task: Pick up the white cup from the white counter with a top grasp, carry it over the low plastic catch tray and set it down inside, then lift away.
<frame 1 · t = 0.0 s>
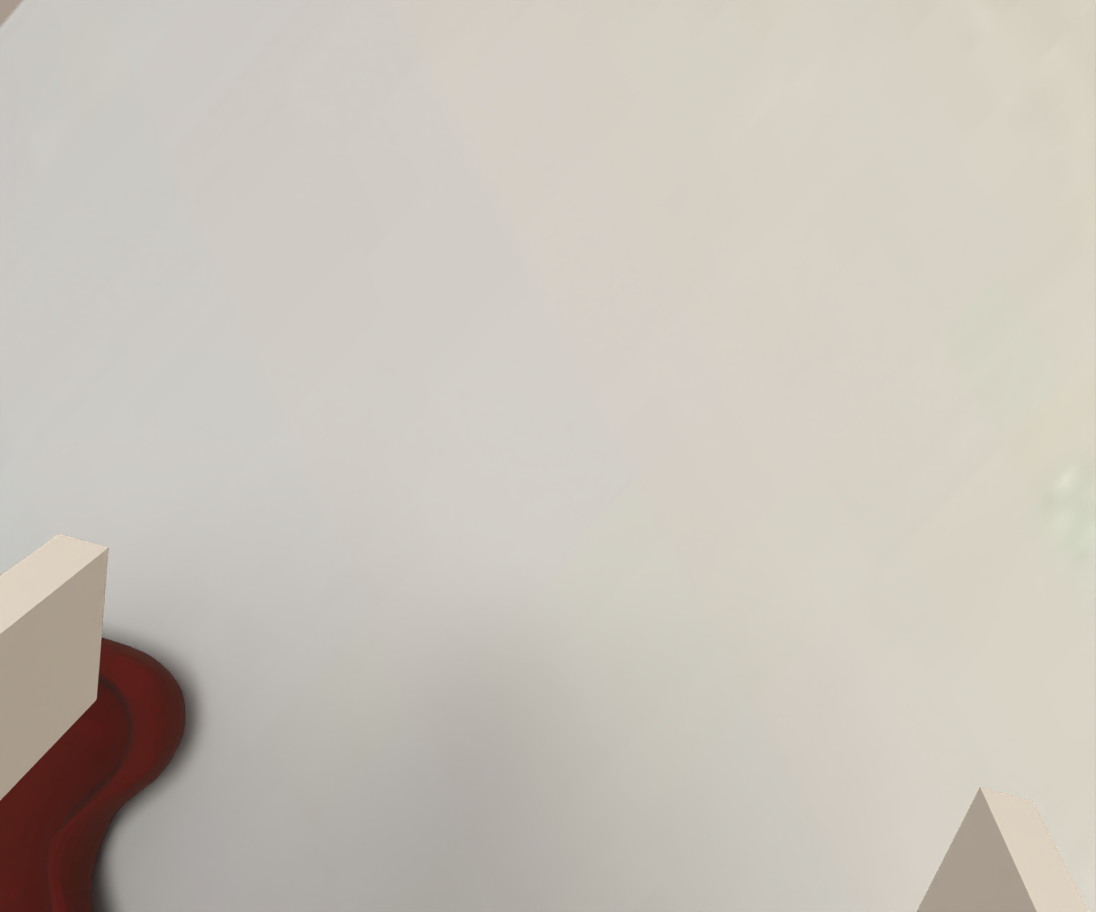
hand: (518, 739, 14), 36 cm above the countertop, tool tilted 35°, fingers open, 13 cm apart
ashtray: (3, 802, 47), on the countertop
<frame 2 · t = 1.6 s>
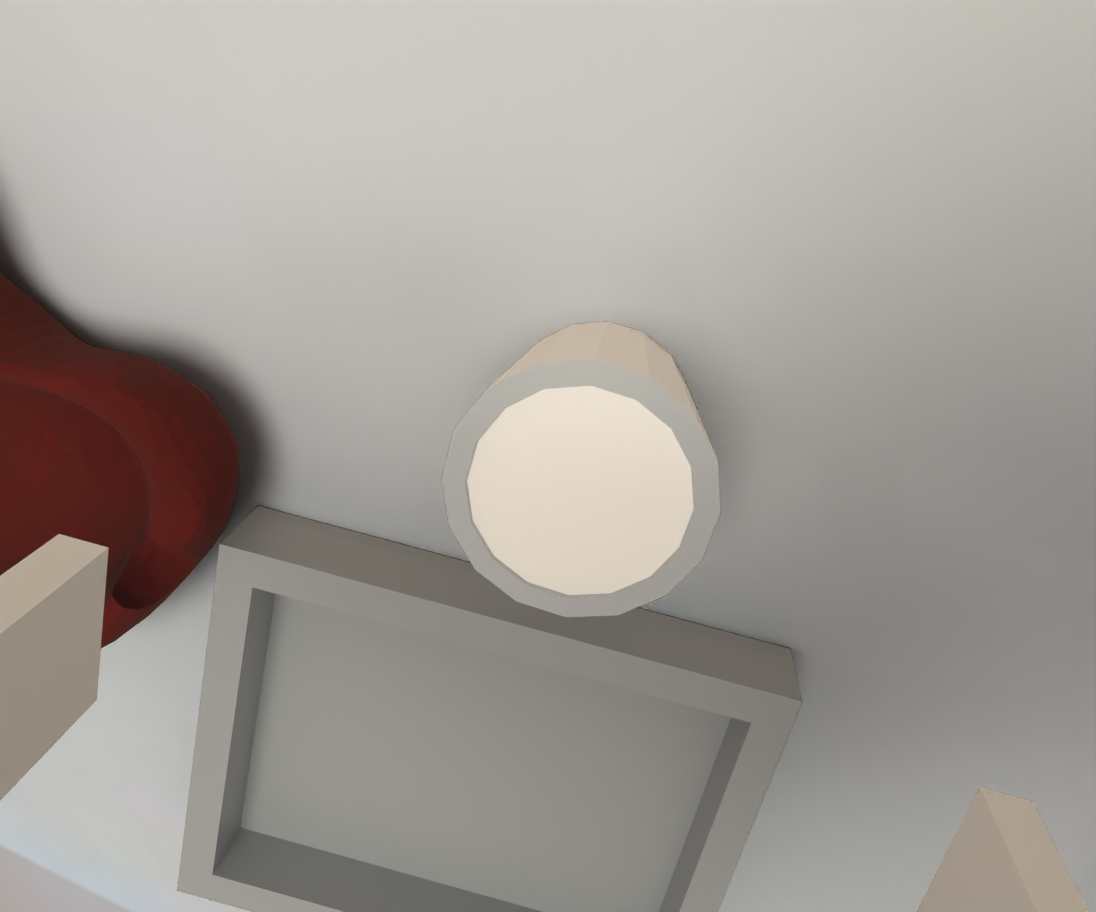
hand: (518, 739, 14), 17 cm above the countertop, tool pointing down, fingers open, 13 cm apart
catch tray: (478, 747, 35), on the countertop
white cup: (598, 408, 30), on the countertop
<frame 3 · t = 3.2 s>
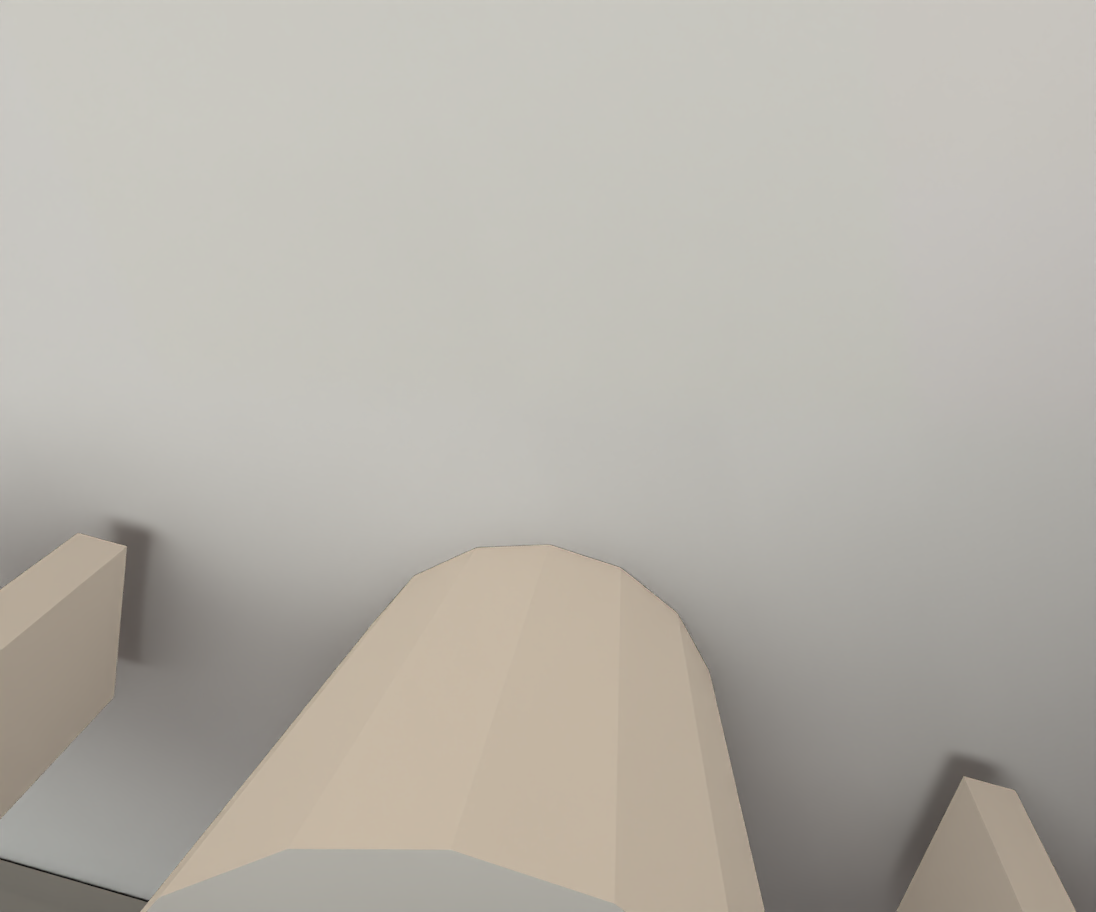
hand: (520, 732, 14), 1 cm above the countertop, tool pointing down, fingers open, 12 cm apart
white cup: (534, 698, 15), on the countertop
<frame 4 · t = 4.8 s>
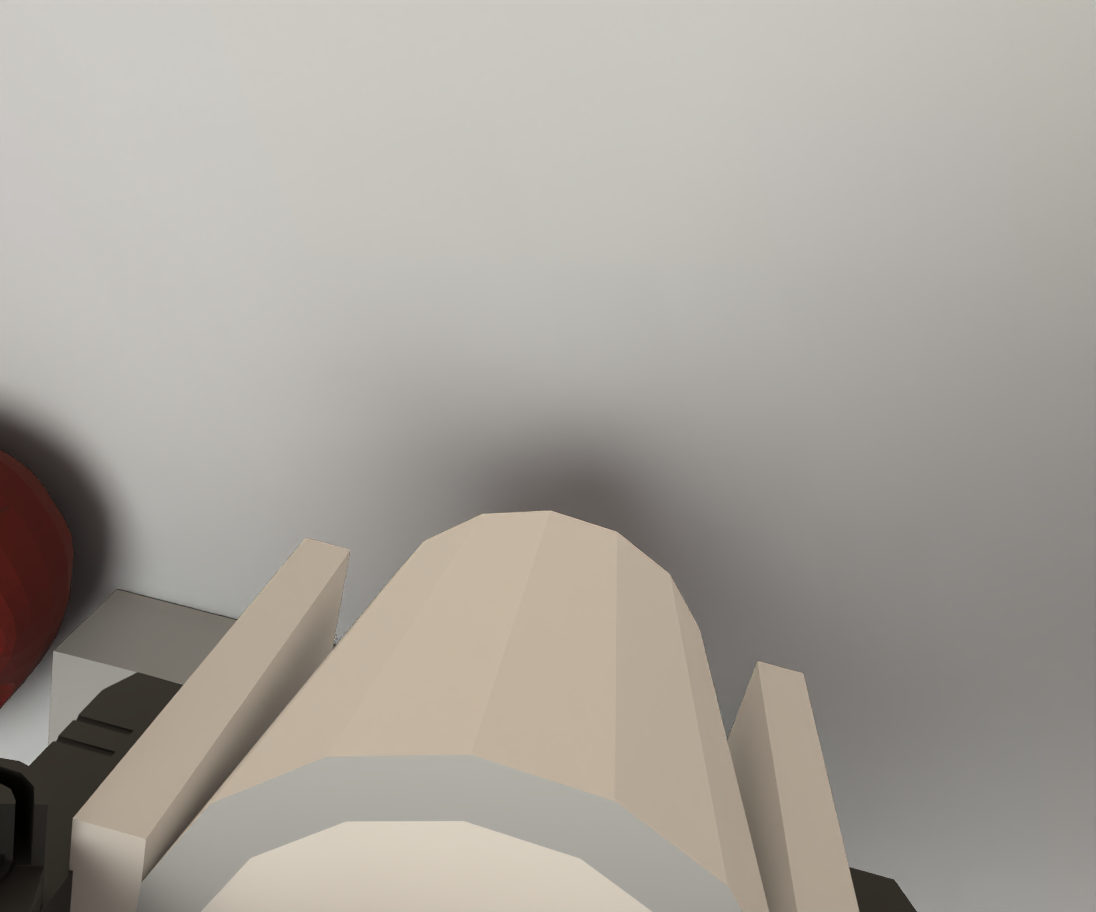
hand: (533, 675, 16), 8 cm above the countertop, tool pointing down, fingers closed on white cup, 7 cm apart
catch tray: (403, 875, 28), on the countertop
white cup: (536, 656, 16), point 8 cm above the countertop, touching gripper
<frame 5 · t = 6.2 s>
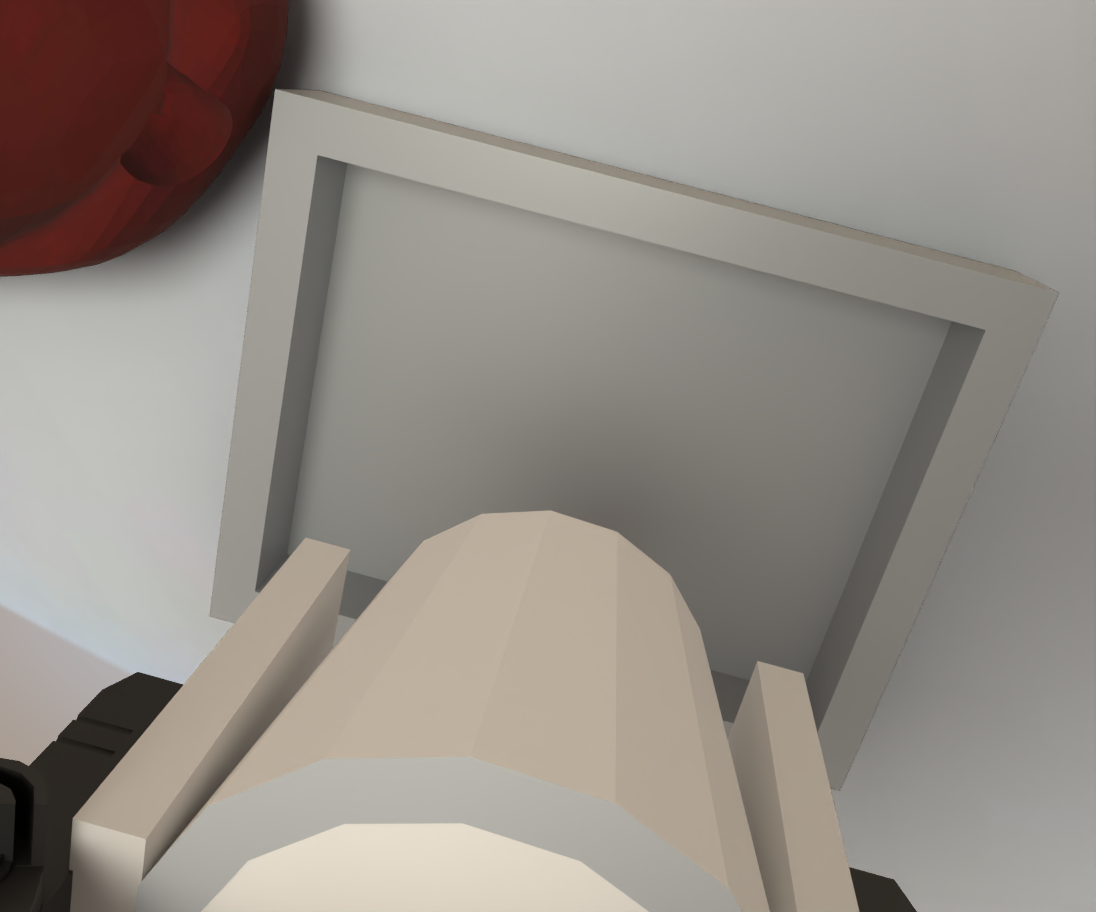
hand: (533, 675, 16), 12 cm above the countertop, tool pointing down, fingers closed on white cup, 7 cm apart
catch tray: (593, 435, 27), on the countertop
white cup: (536, 657, 16), point 12 cm above the countertop, touching gripper
when the fingers open (1 cm above the countertop, at t = 8.1 s): white cup stays where it is, resting on catch tray.
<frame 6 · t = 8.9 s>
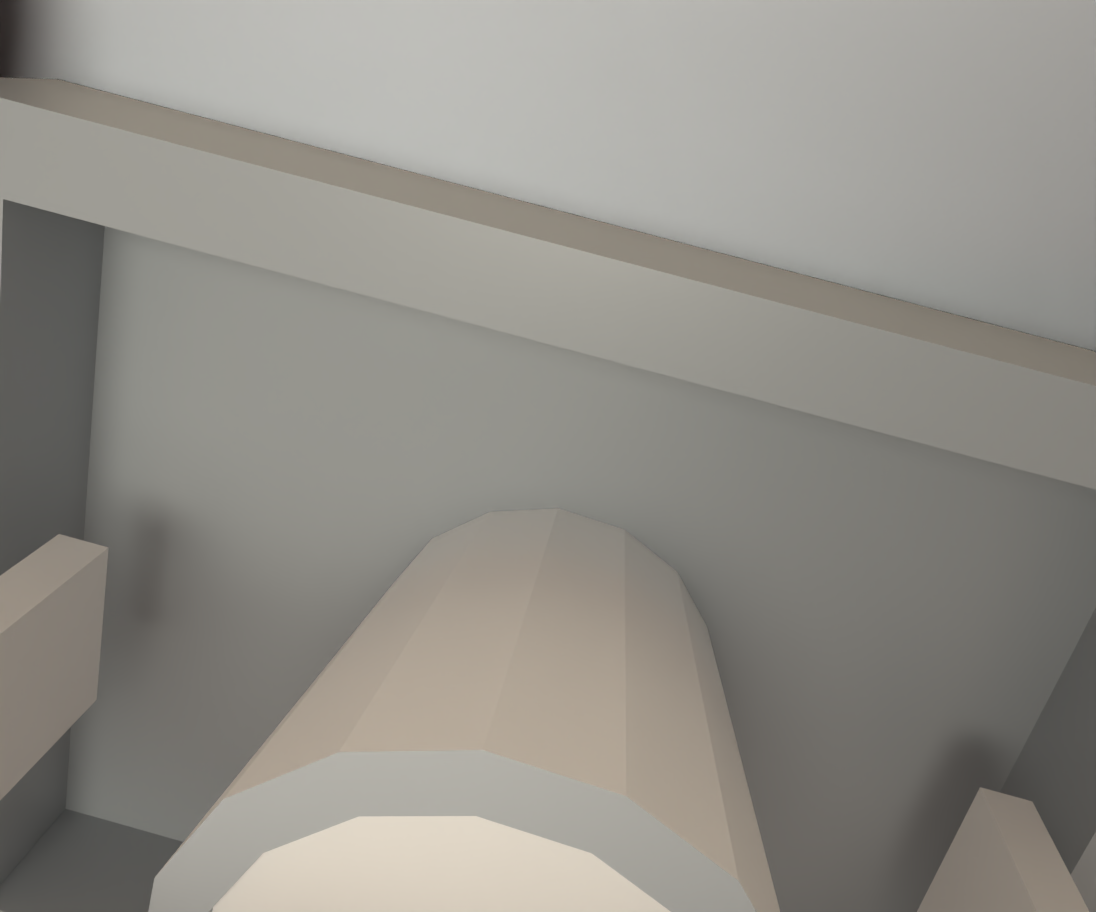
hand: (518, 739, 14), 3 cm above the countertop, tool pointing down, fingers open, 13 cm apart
catch tray: (541, 643, 17), on the countertop
white cup: (543, 654, 16), resting on catch tray
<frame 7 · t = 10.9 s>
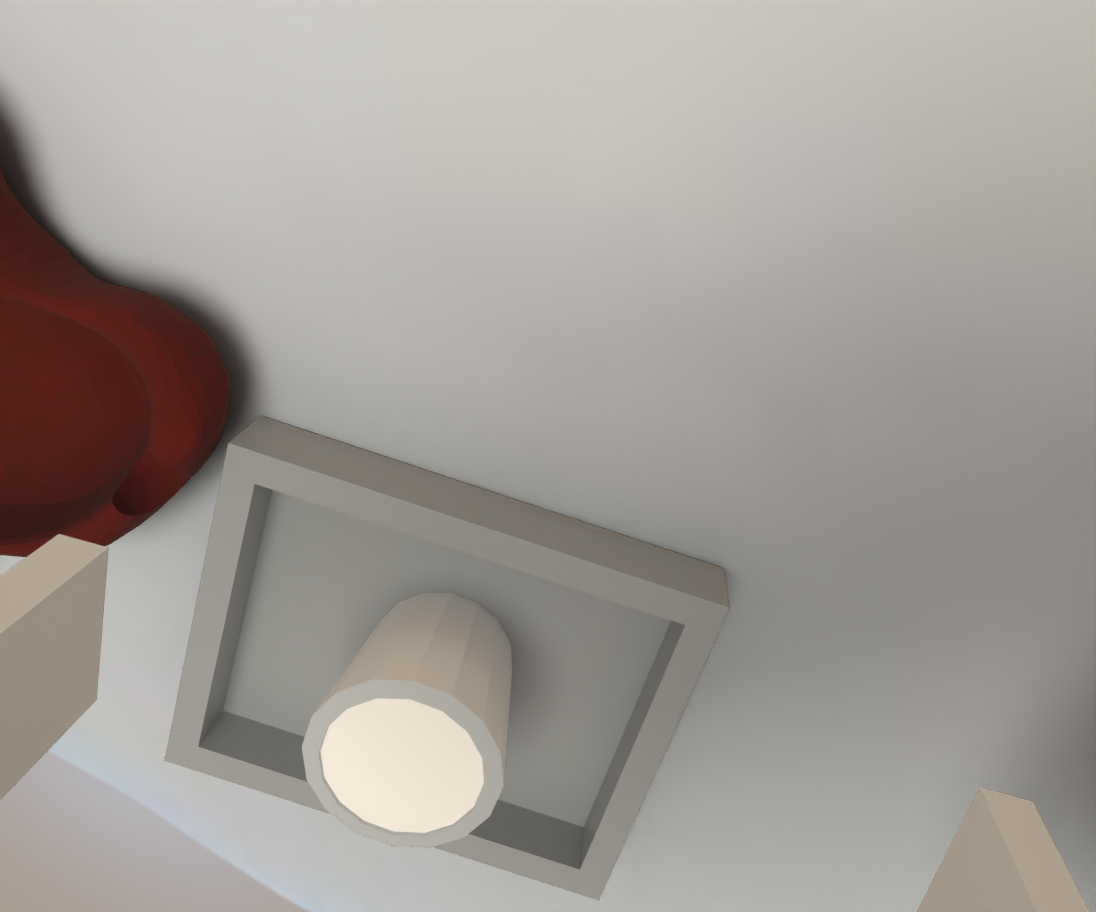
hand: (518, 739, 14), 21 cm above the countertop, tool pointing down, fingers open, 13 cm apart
catch tray: (443, 646, 39), on the countertop
white cup: (444, 651, 39), resting on catch tray
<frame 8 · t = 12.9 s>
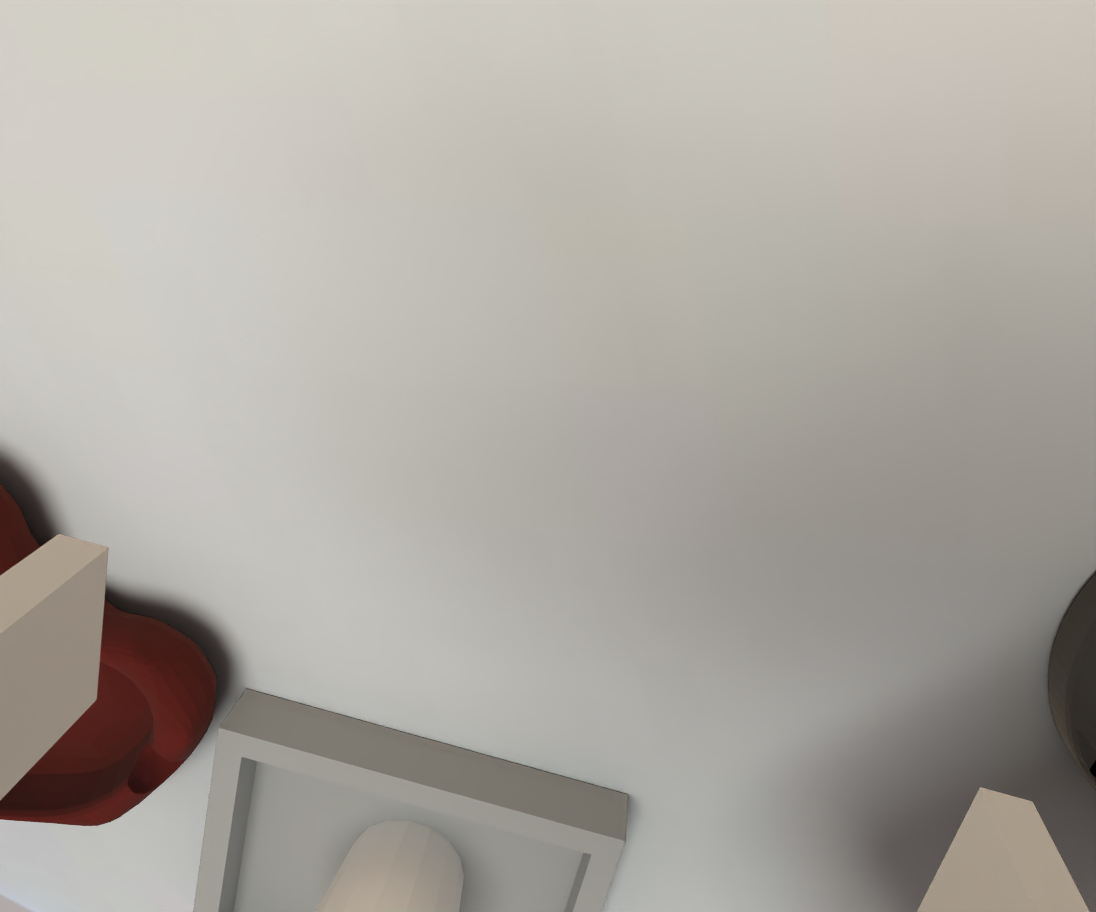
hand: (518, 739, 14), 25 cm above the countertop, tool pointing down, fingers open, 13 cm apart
catch tray: (408, 858, 47), on the countertop
white cup: (408, 863, 47), resting on catch tray
ashtray: (30, 639, 46), on the countertop
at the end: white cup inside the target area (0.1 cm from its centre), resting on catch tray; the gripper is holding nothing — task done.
